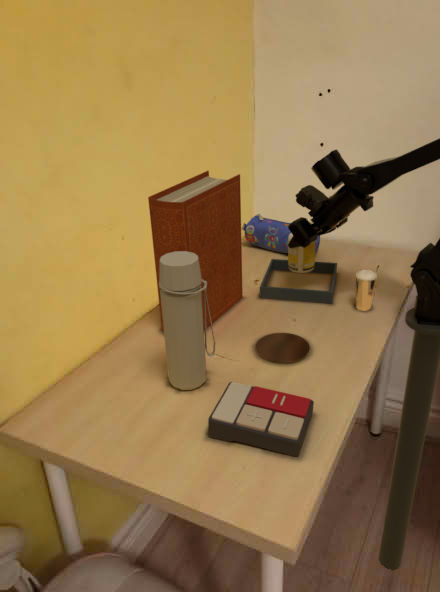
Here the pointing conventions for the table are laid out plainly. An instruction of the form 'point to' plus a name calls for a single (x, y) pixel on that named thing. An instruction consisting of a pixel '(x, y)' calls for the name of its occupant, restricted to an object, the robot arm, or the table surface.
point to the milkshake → (365, 288)
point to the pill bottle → (301, 257)
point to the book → (202, 235)
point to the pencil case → (269, 234)
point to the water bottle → (184, 319)
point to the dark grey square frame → (298, 293)
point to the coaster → (282, 348)
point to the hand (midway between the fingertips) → (296, 242)
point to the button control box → (261, 418)
